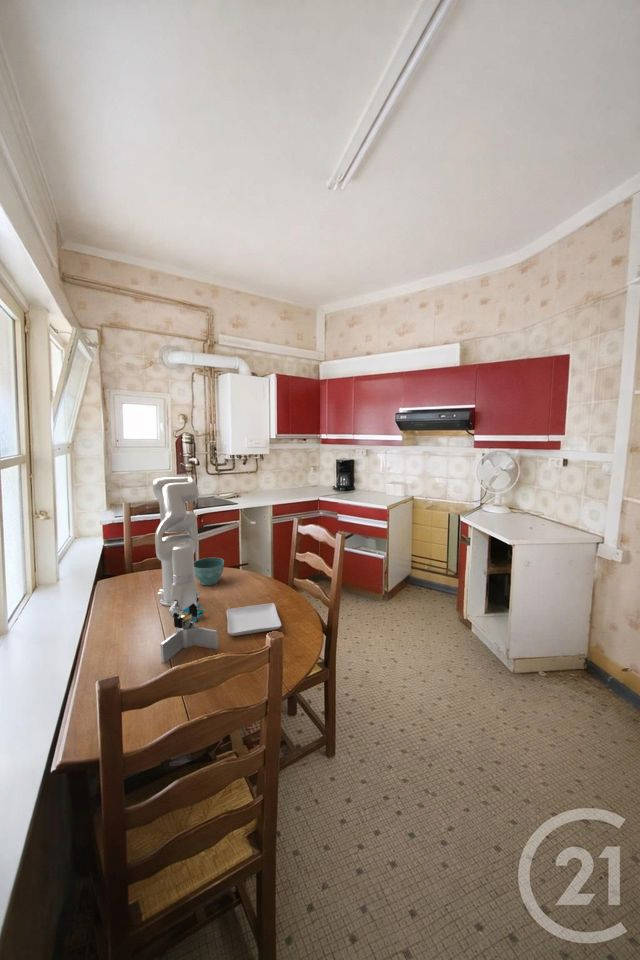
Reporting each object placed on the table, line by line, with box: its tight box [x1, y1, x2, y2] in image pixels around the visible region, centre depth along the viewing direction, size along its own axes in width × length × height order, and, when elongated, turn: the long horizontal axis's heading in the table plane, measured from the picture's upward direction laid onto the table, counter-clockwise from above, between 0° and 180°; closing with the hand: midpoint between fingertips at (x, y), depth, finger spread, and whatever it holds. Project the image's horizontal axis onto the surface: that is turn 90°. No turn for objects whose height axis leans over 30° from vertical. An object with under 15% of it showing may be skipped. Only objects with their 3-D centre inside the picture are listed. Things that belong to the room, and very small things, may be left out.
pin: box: [181, 612, 193, 629], centre depth 143 cm, size 5×5×11 cm
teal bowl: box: [194, 557, 225, 586], centre depth 201 cm, size 16×16×11 cm
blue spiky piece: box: [177, 601, 206, 623], centre depth 163 cm, size 11×6×10 cm
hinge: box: [159, 620, 219, 664], centre depth 137 cm, size 17×17×7 cm
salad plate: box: [225, 602, 282, 636], centre depth 159 cm, size 21×21×3 cm
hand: (186, 621), depth 143 cm, fingers open, 8 cm apart
